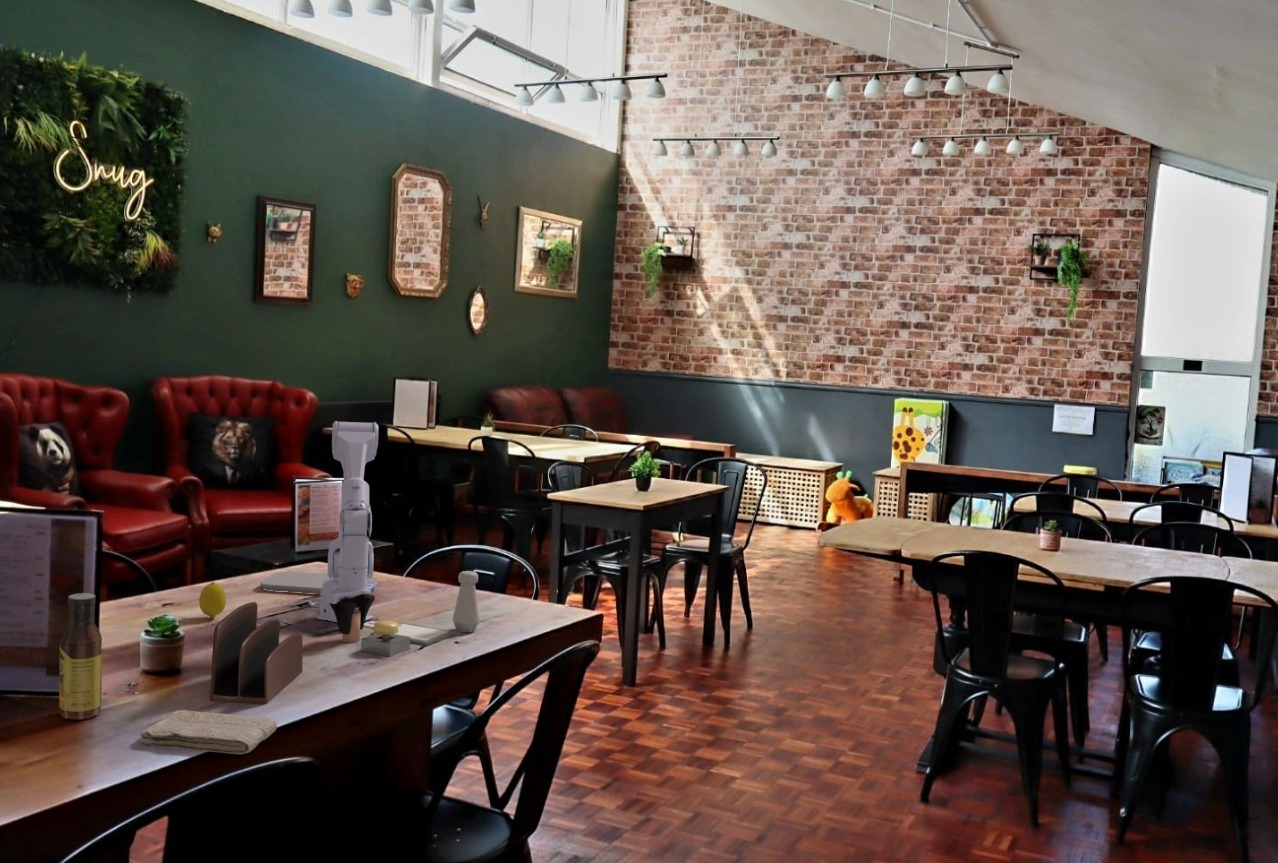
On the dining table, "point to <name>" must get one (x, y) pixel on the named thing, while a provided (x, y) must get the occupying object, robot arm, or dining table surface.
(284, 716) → the dining table surface
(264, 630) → the letter holder
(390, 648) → the switch box
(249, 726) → the washcloth
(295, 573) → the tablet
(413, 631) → the clipboard
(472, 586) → the salt shaker
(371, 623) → the card
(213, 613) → the lemon
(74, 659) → the sauce bottle
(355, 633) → the pepper shaker
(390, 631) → the button
